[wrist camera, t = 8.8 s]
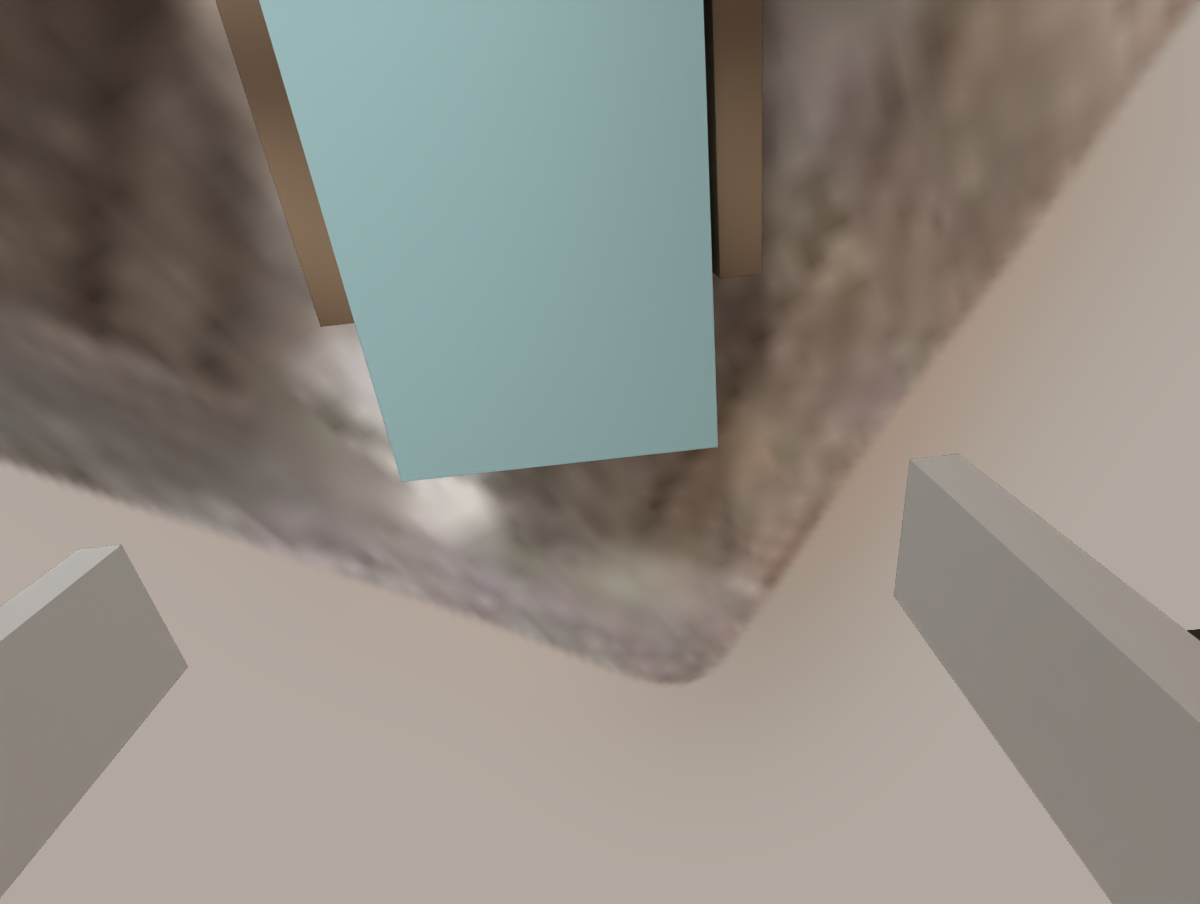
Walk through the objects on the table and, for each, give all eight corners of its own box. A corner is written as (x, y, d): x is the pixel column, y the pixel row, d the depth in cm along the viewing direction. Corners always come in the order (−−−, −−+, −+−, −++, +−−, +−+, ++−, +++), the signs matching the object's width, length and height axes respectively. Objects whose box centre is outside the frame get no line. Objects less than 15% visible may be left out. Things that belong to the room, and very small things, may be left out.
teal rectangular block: (289, -70, 15) (223, -122, 12) (676, -127, 14) (696, -193, 12) (425, 440, 21) (401, 481, 18) (701, 409, 21) (718, 446, 18)
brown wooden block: (231, -230, 16) (92, -383, 12) (713, -307, 16) (763, -497, 11) (375, 293, 22) (321, 326, 18) (726, 250, 22) (762, 273, 17)
